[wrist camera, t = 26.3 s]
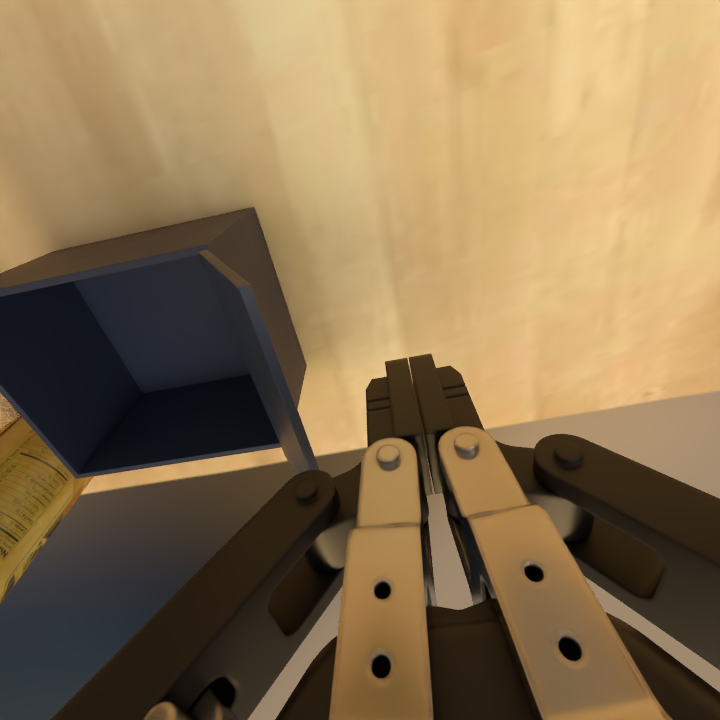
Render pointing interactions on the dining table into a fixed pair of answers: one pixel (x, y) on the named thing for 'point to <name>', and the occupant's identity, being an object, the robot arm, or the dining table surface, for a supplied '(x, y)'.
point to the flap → (261, 360)
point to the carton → (142, 347)
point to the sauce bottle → (29, 498)
